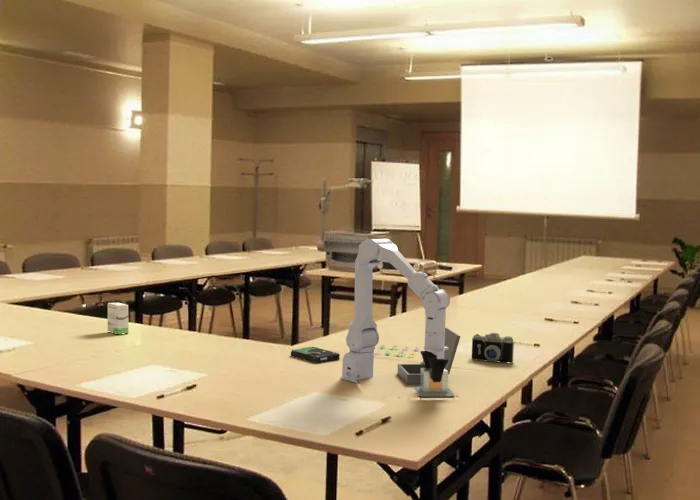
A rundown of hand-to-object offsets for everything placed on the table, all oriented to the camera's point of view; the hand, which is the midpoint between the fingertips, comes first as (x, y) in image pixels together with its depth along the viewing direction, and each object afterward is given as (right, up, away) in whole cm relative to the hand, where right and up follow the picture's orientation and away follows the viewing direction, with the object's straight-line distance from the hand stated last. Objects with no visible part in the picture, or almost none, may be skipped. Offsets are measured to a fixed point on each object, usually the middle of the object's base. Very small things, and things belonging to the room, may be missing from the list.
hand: (433, 378), depth 220 cm
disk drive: (-36, -1, +45) cm, 58 cm away
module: (0, -3, 0) cm, 3 cm away
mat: (0, -4, 0) cm, 4 cm away
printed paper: (-7, -1, +59) cm, 59 cm away
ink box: (-116, +4, +80) cm, 141 cm away
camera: (+25, -2, +47) cm, 54 cm away
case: (0, -3, +15) cm, 15 cm away
